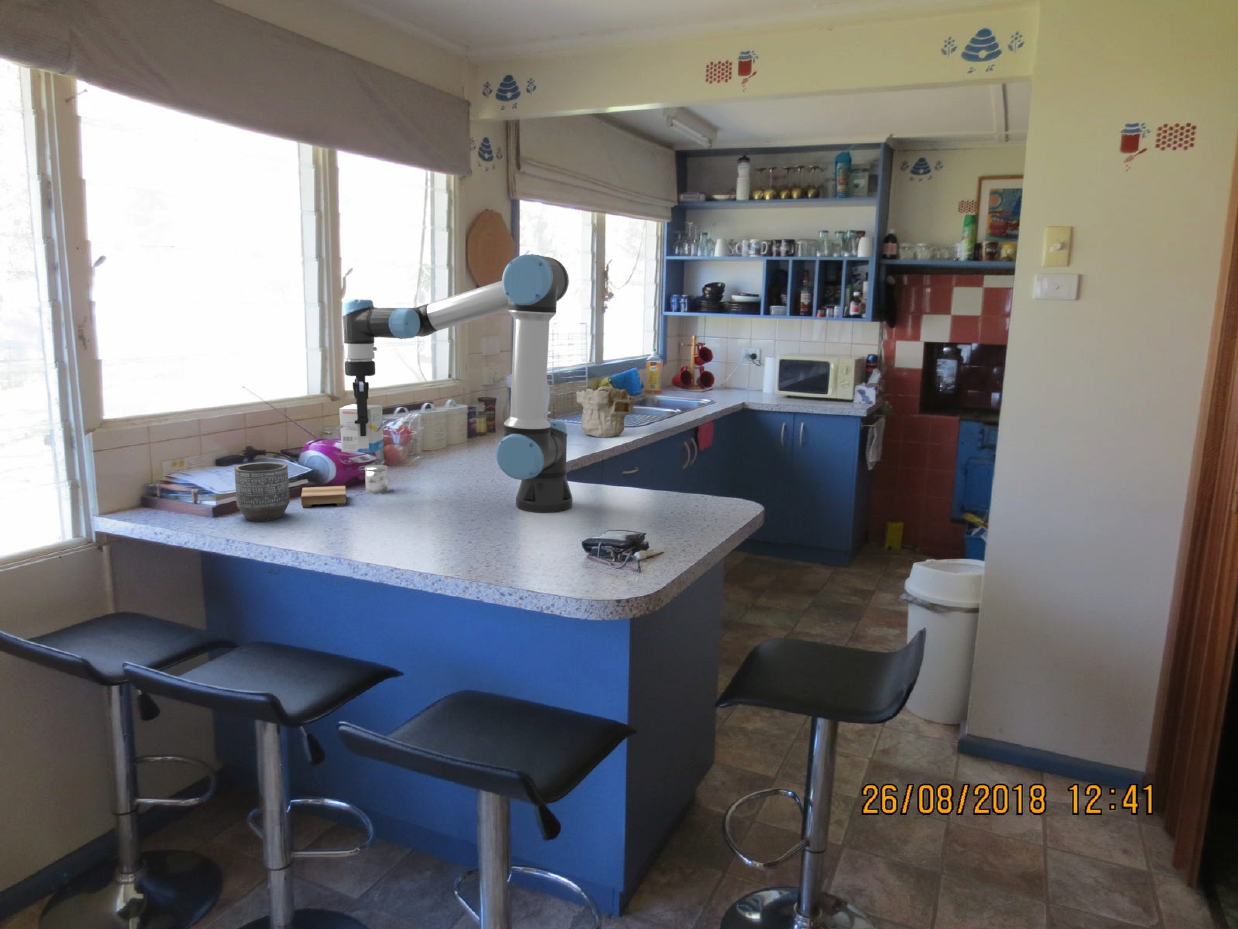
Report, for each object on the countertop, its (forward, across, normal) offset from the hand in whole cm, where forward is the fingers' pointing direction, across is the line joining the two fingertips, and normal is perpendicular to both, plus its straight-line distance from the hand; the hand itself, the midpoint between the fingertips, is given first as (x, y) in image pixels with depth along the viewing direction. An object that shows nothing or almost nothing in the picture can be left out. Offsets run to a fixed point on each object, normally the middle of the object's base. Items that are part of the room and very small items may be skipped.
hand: (362, 444), depth 226 cm
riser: (+16, +5, +10) cm, 19 cm away
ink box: (+2, 0, 0) cm, 2 cm away
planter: (+16, -8, +24) cm, 30 cm away
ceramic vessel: (+16, +102, -99) cm, 143 cm away
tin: (+16, +15, -4) cm, 22 cm away
